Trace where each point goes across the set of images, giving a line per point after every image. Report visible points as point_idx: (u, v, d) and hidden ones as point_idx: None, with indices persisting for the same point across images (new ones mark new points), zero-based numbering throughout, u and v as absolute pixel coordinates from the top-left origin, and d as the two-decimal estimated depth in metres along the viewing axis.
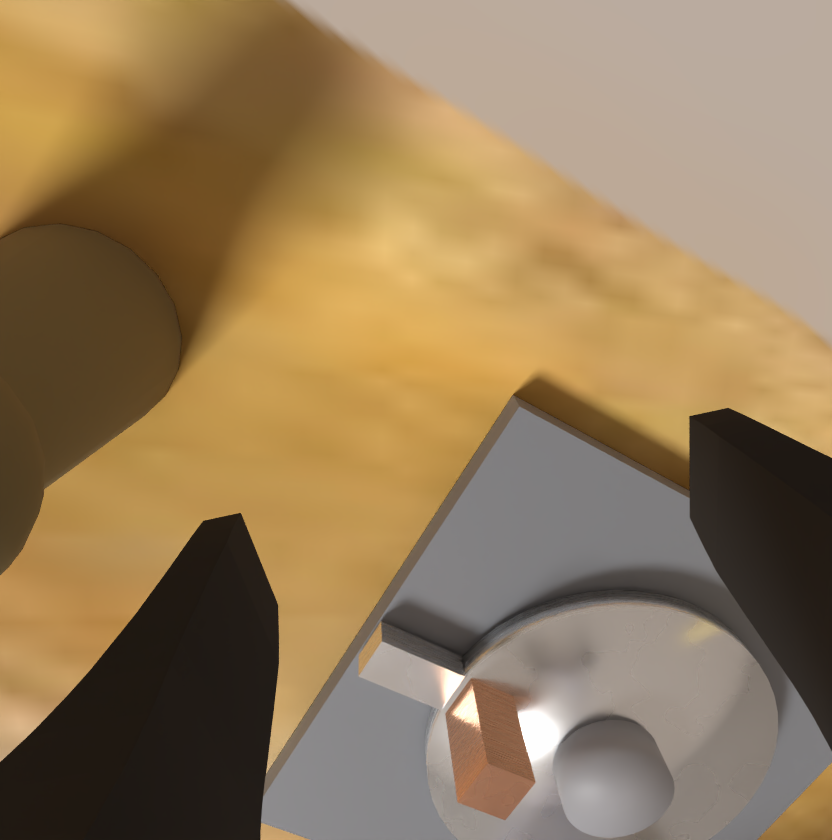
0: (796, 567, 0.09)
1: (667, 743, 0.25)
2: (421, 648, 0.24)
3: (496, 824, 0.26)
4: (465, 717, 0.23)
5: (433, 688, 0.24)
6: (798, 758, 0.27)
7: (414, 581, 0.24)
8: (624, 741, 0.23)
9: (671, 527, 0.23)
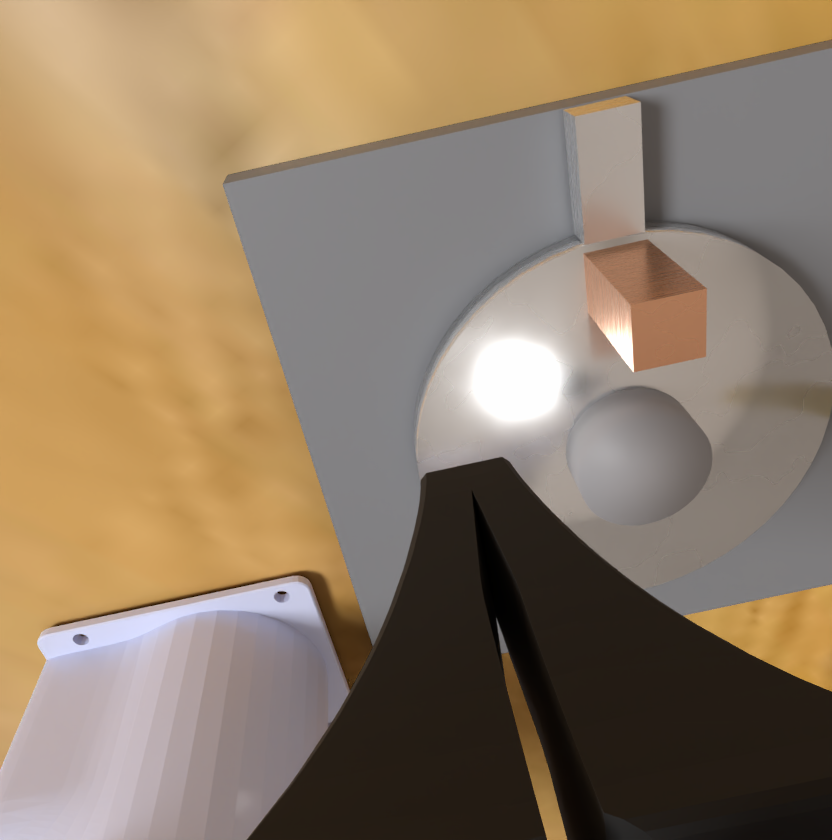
0: (517, 625, 0.09)
1: None
2: None
3: (472, 423, 0.20)
4: (638, 259, 0.17)
5: (608, 212, 0.18)
6: (690, 587, 0.26)
7: (692, 91, 0.18)
8: (698, 426, 0.20)
9: None
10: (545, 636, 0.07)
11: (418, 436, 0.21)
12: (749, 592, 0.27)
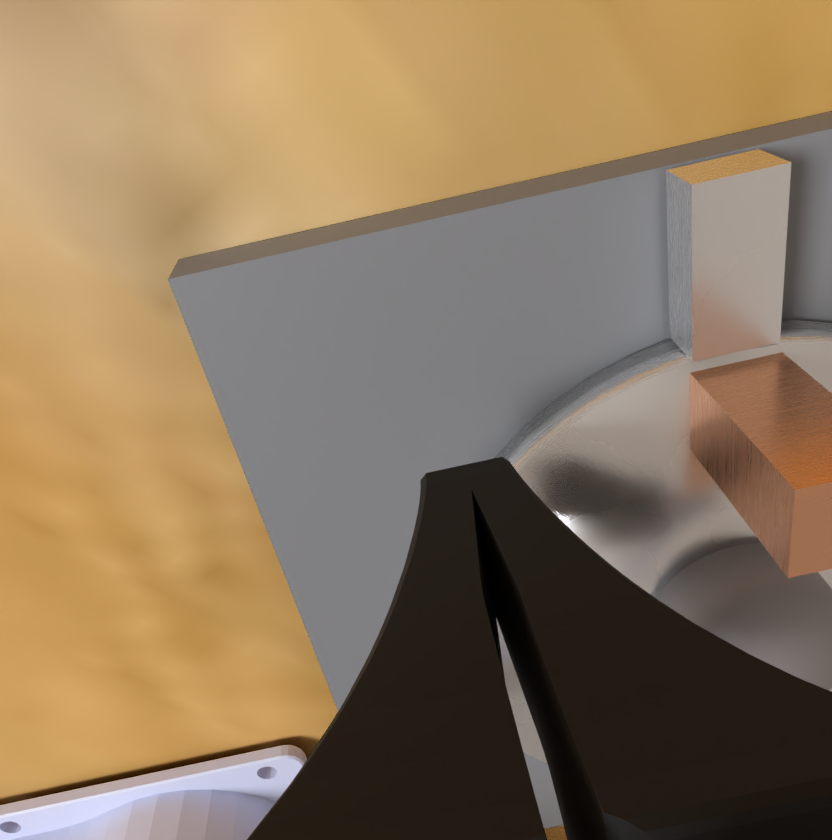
0: (517, 625, 0.09)
1: None
2: None
3: None
4: (780, 391, 0.12)
5: (730, 318, 0.12)
6: None
7: None
8: None
9: None
10: (545, 636, 0.07)
11: None
12: None
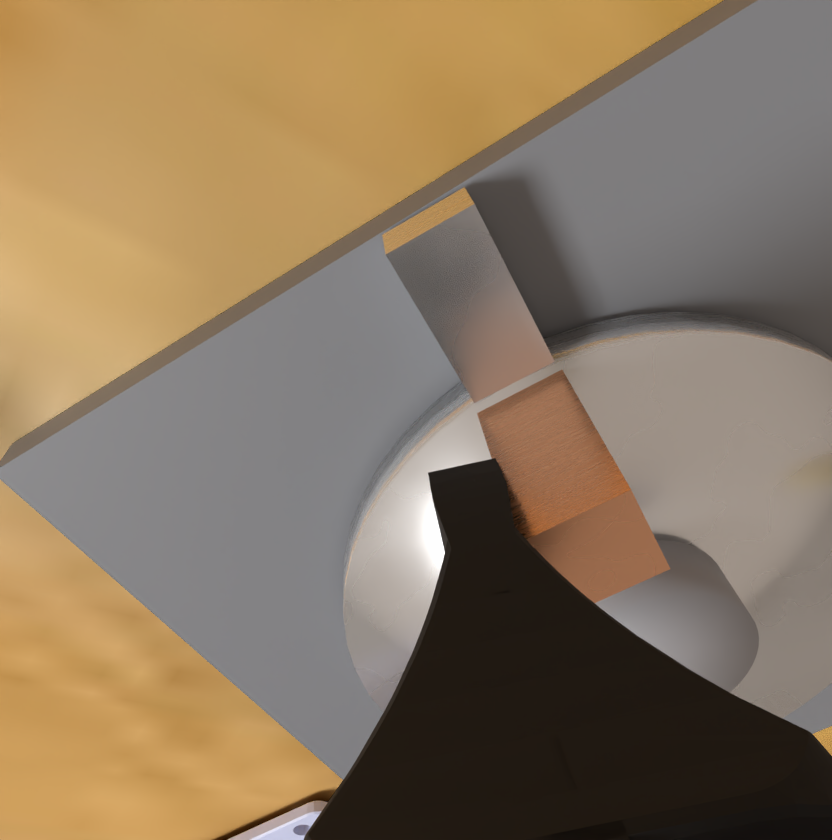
0: None
1: None
2: None
3: None
4: (545, 420, 0.12)
5: (491, 355, 0.12)
6: (807, 705, 0.20)
7: (549, 149, 0.12)
8: (721, 582, 0.14)
9: None
10: (489, 648, 0.07)
11: (355, 667, 0.16)
12: None
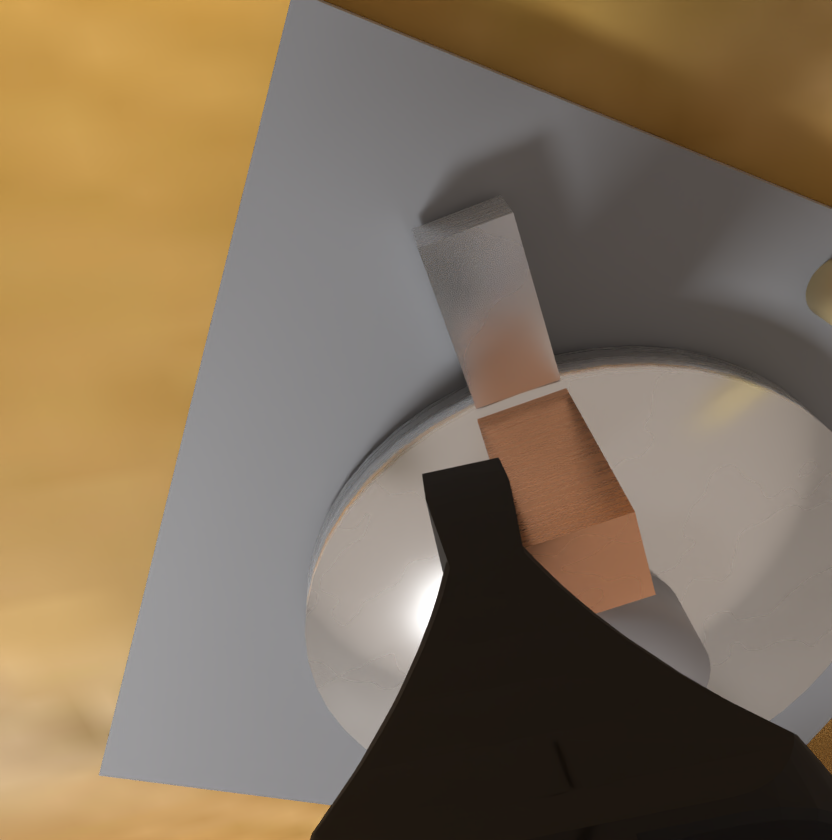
0: None
1: None
2: None
3: (377, 636, 0.15)
4: (547, 434, 0.12)
5: (501, 364, 0.12)
6: None
7: (210, 393, 0.13)
8: None
9: (654, 215, 0.12)
10: (479, 650, 0.07)
11: (309, 659, 0.15)
12: None
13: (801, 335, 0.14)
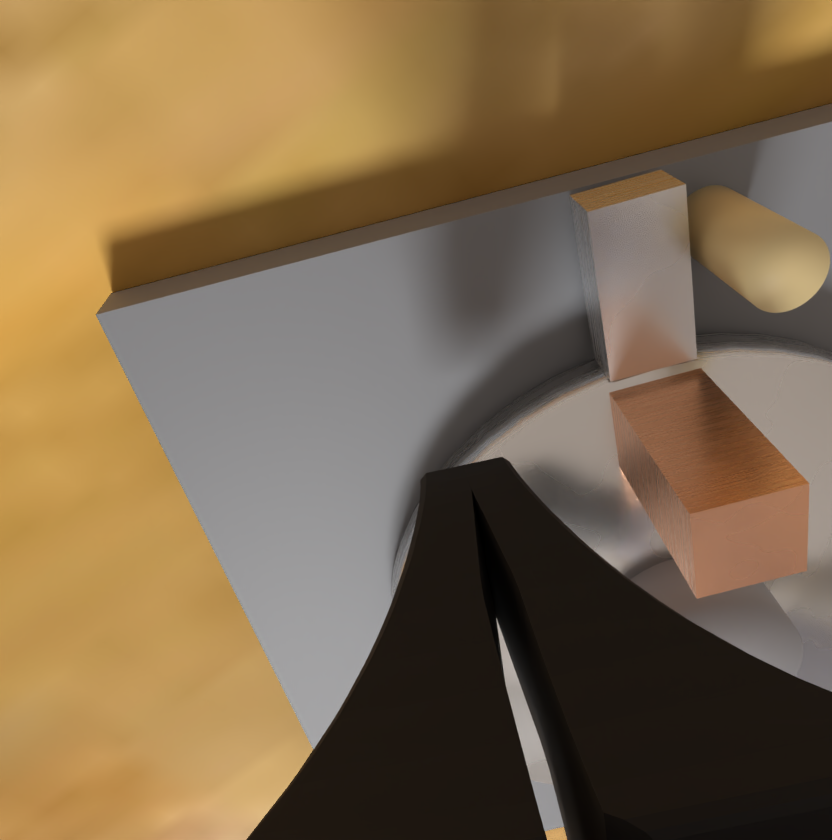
0: (517, 626, 0.09)
1: None
2: None
3: None
4: (692, 409, 0.12)
5: (644, 337, 0.12)
6: None
7: (247, 589, 0.16)
8: None
9: (484, 277, 0.13)
10: (545, 636, 0.07)
11: None
12: None
13: (704, 279, 0.13)
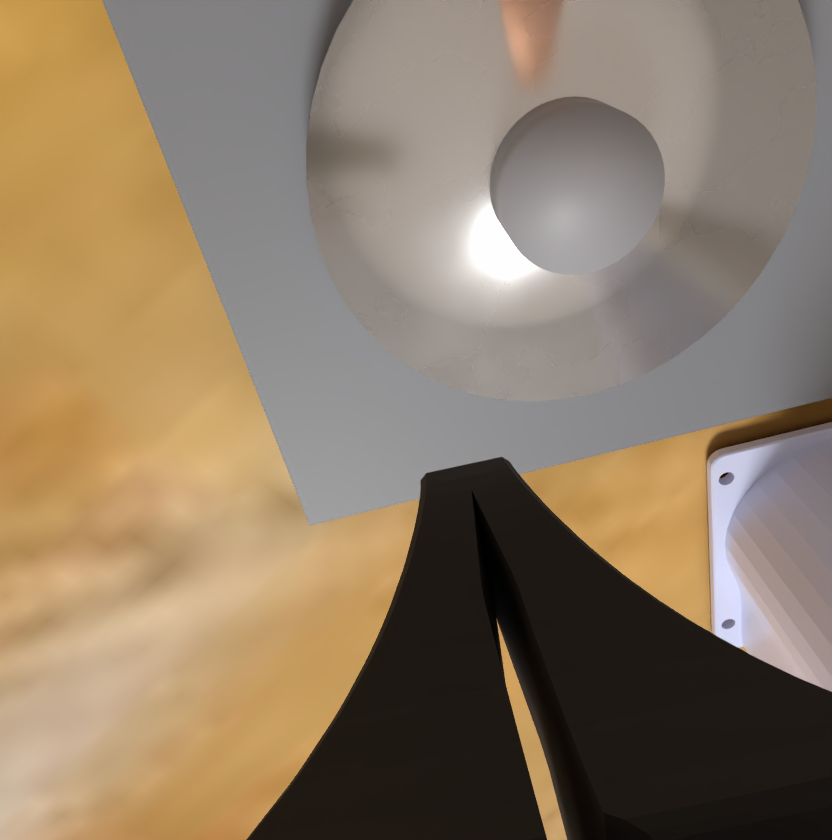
0: (517, 626, 0.09)
1: None
2: None
3: (371, 156, 0.17)
4: None
5: None
6: None
7: (177, 157, 0.18)
8: (533, 122, 0.16)
9: None
10: (545, 636, 0.07)
11: (307, 176, 0.17)
12: None
13: None
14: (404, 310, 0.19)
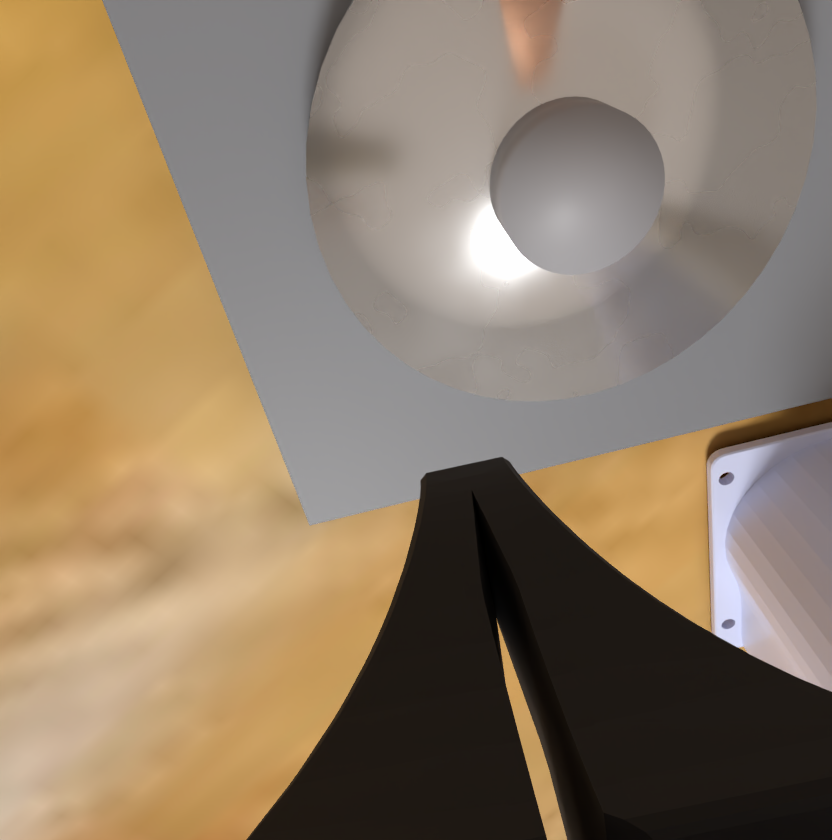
0: (517, 626, 0.09)
1: None
2: None
3: (371, 156, 0.17)
4: None
5: None
6: None
7: (177, 157, 0.18)
8: (533, 122, 0.16)
9: None
10: (545, 636, 0.07)
11: (307, 176, 0.17)
12: None
13: None
14: (404, 310, 0.19)
